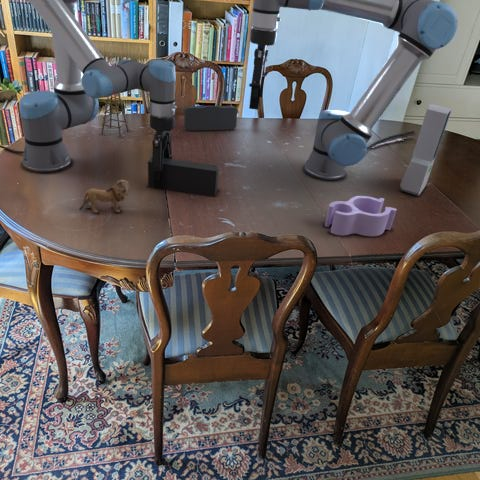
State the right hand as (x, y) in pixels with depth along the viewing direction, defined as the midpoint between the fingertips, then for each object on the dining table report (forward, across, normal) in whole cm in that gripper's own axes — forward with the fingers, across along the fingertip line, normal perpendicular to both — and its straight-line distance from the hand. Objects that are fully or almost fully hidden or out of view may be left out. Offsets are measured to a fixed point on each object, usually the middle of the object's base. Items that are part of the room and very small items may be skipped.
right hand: (255, 102), depth 145 cm
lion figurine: (+28, -29, +39) cm, 56 cm away
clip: (+28, -18, -36) cm, 50 cm away
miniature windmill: (+28, +31, +58) cm, 71 cm away
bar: (+28, -10, +20) cm, 36 cm away
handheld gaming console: (+28, +49, +22) cm, 60 cm away
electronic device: (+28, +16, -59) cm, 68 cm away
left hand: (+27, -10, +27) cm, 40 cm away
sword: (+28, +62, -59) cm, 90 cm away
